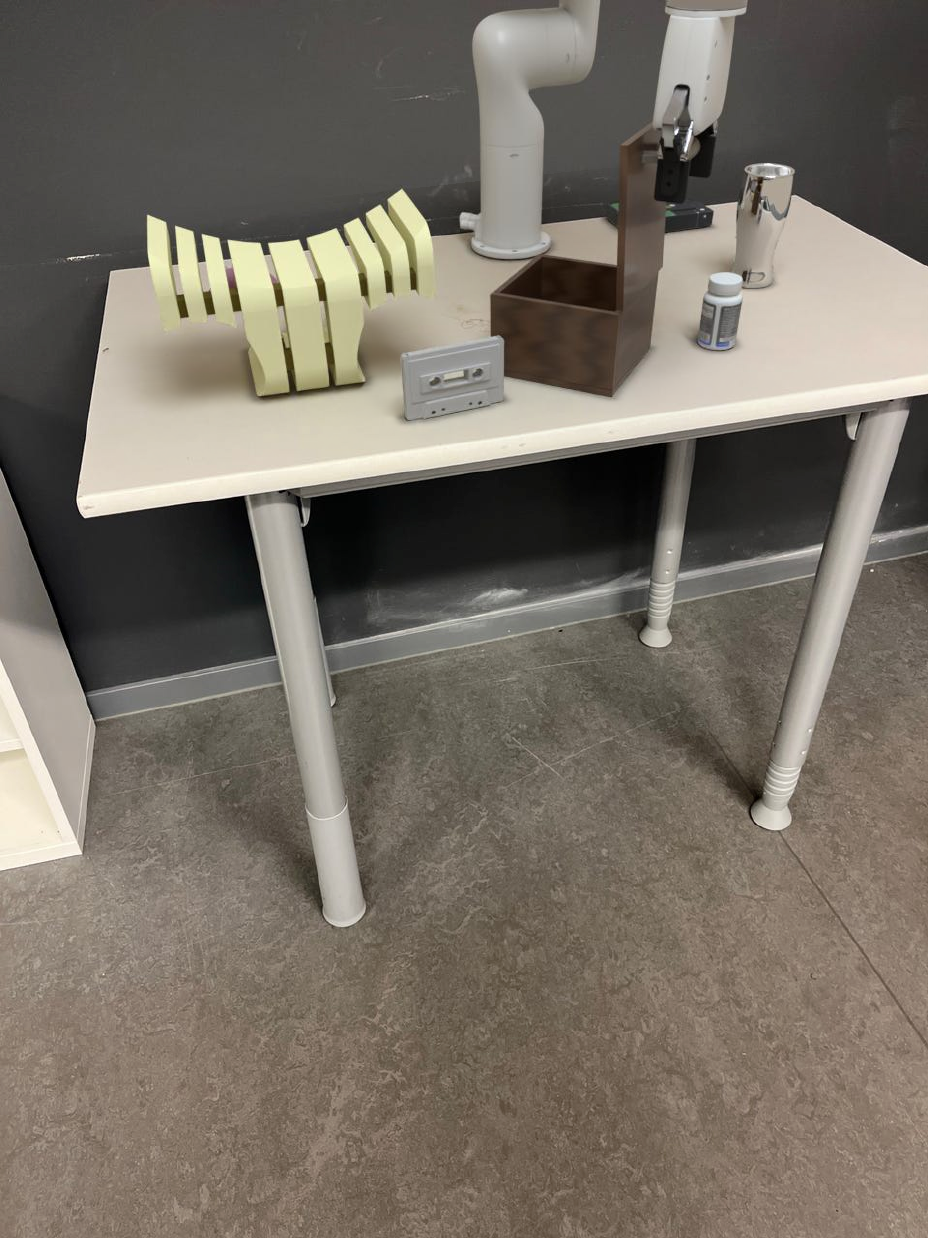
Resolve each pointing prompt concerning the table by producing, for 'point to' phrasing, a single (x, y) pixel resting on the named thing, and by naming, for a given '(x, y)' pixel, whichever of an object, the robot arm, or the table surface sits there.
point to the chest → (571, 324)
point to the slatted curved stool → (298, 291)
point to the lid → (640, 214)
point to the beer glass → (761, 220)
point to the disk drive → (675, 215)
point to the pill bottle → (720, 311)
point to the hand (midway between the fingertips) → (682, 188)
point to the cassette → (454, 392)
